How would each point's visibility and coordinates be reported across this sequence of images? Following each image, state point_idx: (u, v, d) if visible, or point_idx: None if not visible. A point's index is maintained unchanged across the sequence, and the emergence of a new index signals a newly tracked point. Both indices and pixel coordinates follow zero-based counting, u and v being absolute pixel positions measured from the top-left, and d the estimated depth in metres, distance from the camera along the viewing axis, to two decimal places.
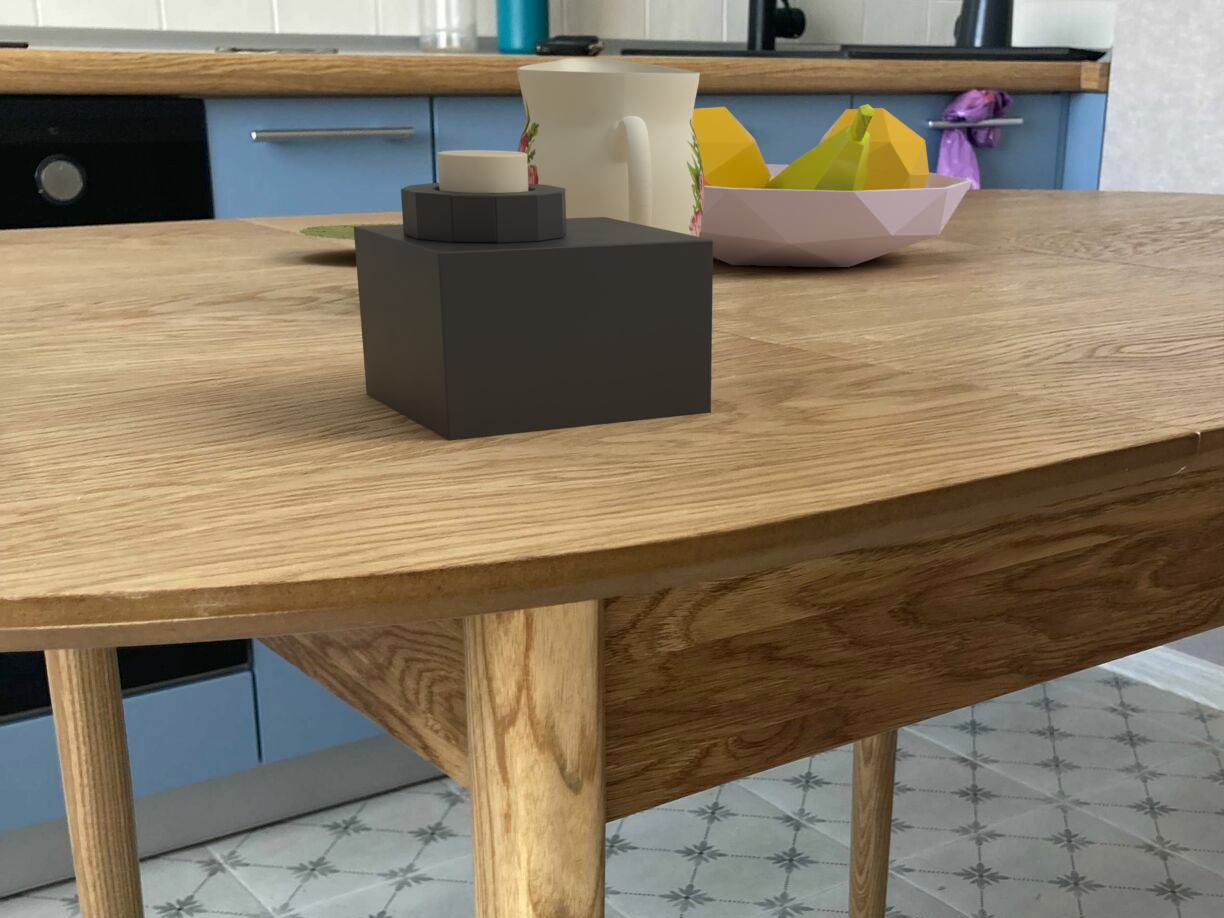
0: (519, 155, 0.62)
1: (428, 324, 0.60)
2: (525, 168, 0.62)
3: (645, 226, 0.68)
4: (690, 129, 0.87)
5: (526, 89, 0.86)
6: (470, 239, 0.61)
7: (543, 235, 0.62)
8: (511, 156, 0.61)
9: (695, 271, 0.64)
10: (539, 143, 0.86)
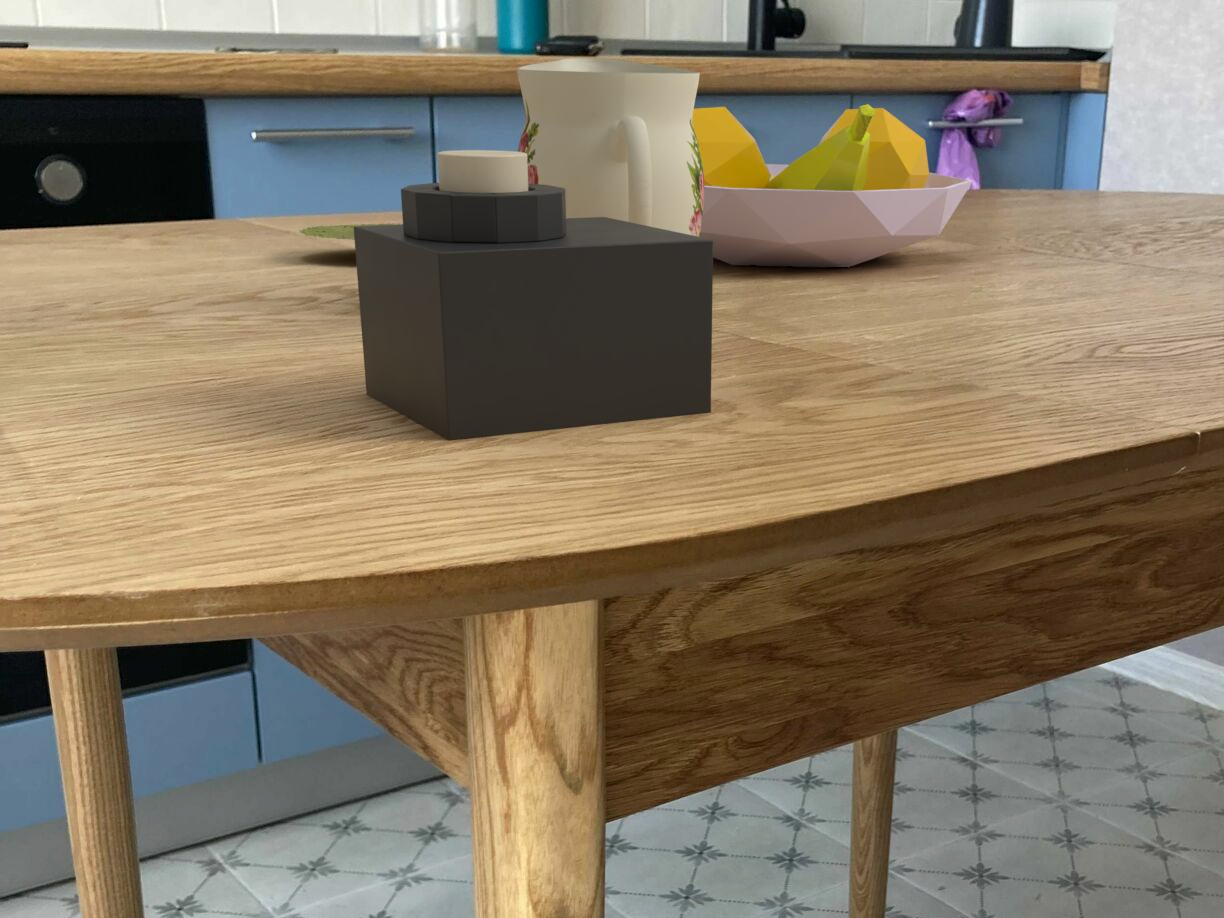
0: (519, 155, 0.62)
1: (428, 324, 0.60)
2: (525, 168, 0.62)
3: (645, 226, 0.68)
4: (690, 129, 0.87)
5: (526, 89, 0.86)
6: (470, 239, 0.61)
7: (543, 235, 0.62)
8: (511, 156, 0.61)
9: (695, 271, 0.64)
10: (539, 143, 0.86)
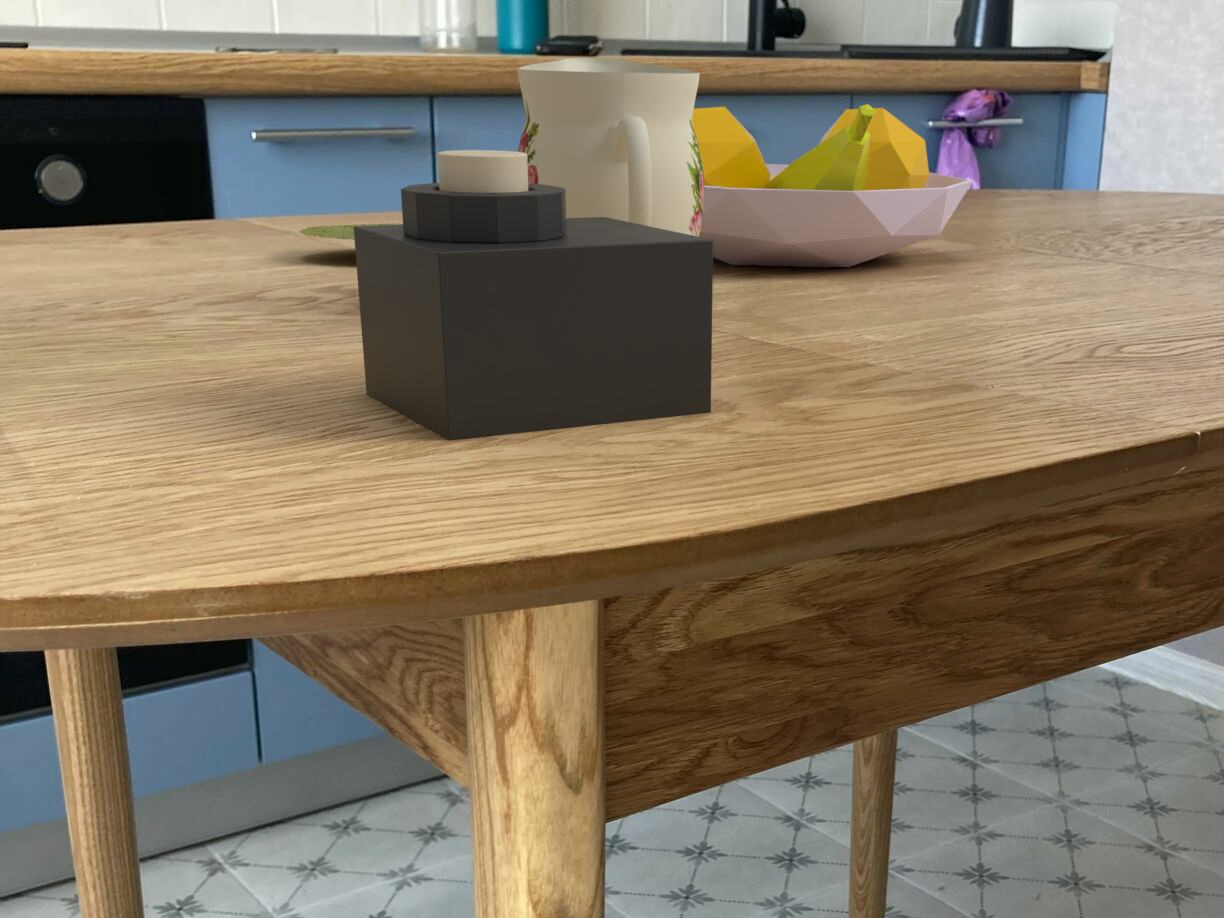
0: (519, 155, 0.62)
1: (428, 324, 0.60)
2: (525, 168, 0.62)
3: (645, 226, 0.68)
4: (690, 129, 0.87)
5: (526, 89, 0.86)
6: (470, 239, 0.61)
7: (543, 235, 0.62)
8: (511, 156, 0.61)
9: (695, 271, 0.64)
10: (539, 143, 0.86)
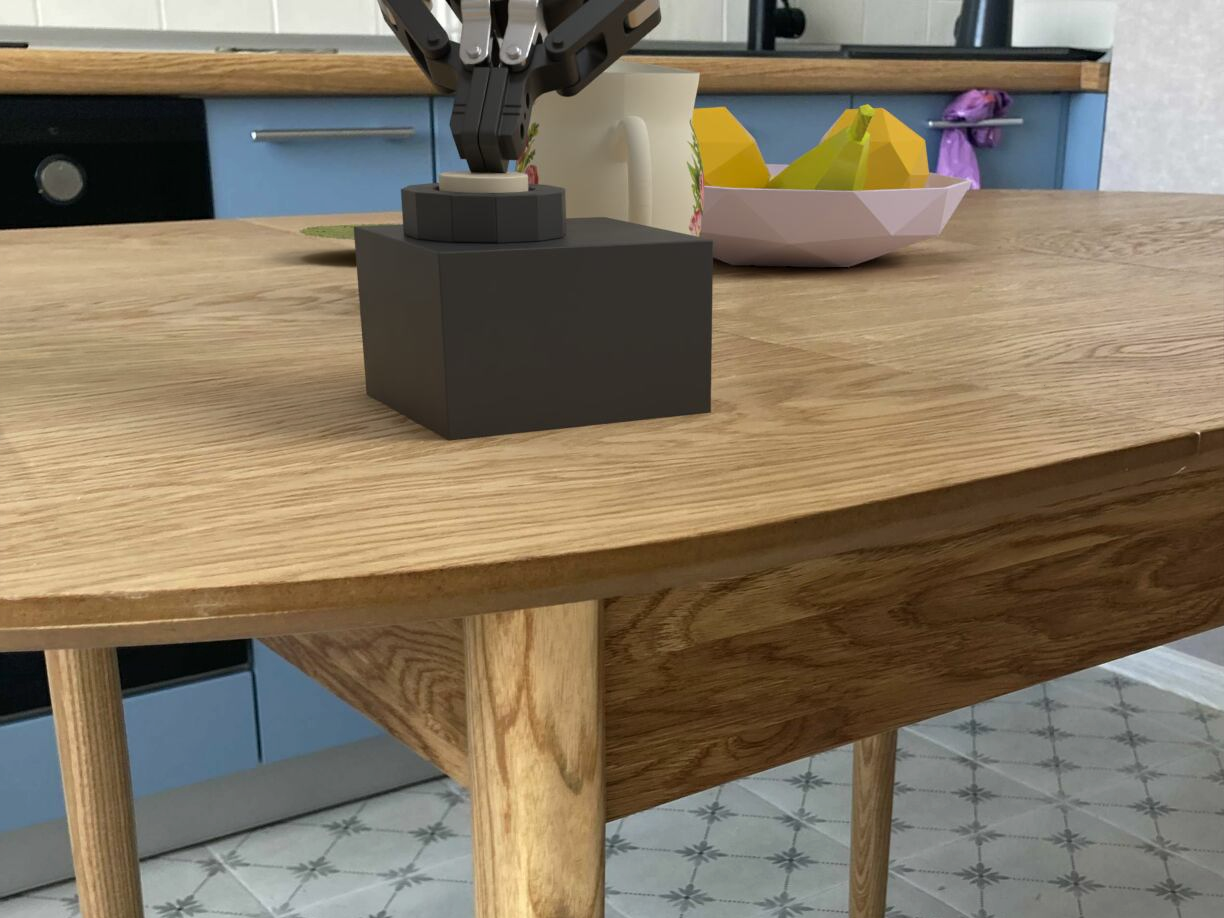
0: (520, 176, 0.62)
1: (428, 324, 0.60)
2: (526, 189, 0.63)
3: (645, 226, 0.68)
4: (690, 129, 0.87)
5: None
6: (470, 239, 0.61)
7: (543, 235, 0.62)
8: (512, 177, 0.62)
9: (695, 271, 0.64)
10: (539, 143, 0.86)
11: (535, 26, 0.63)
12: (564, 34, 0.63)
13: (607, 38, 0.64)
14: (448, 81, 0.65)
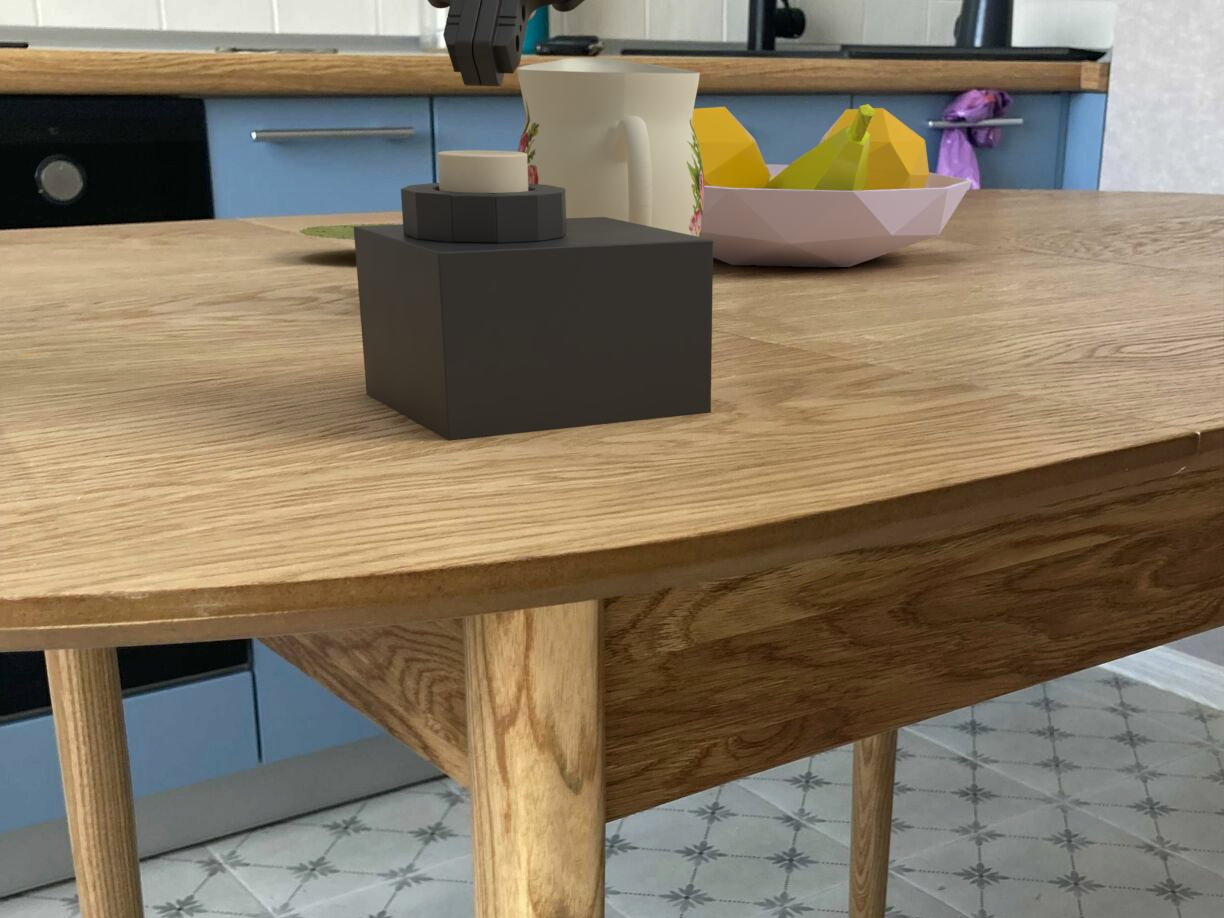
0: (519, 155, 0.62)
1: (428, 324, 0.60)
2: (525, 168, 0.62)
3: (645, 226, 0.68)
4: (690, 129, 0.87)
5: (526, 89, 0.86)
6: (470, 239, 0.61)
7: (543, 235, 0.62)
8: (511, 156, 0.61)
9: (695, 271, 0.64)
10: (539, 143, 0.86)
11: None
12: None
13: None
14: None
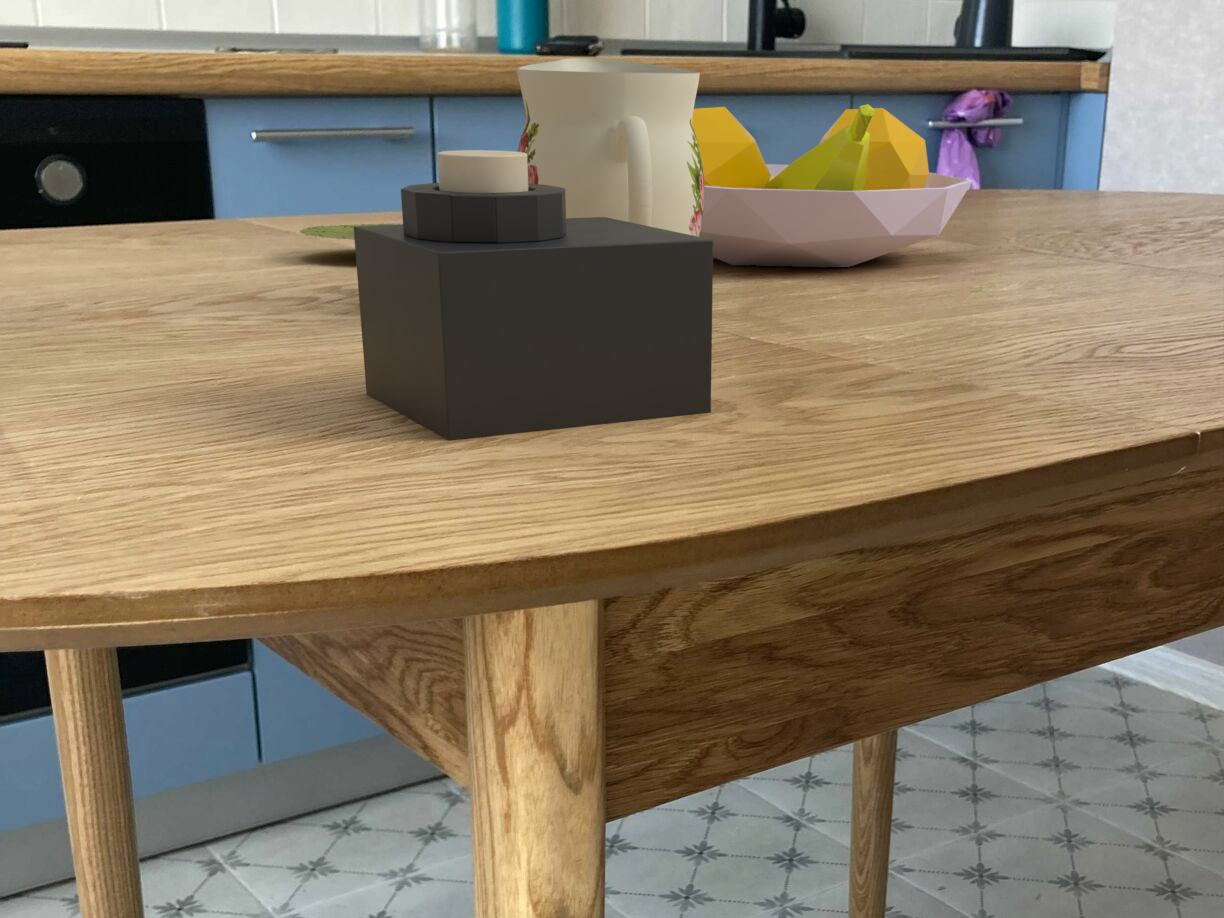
0: (519, 155, 0.62)
1: (428, 324, 0.60)
2: (525, 168, 0.62)
3: (645, 226, 0.68)
4: (690, 129, 0.87)
5: (526, 89, 0.86)
6: (470, 239, 0.61)
7: (543, 235, 0.62)
8: (511, 156, 0.61)
9: (695, 271, 0.64)
10: (539, 143, 0.86)
11: None
12: None
13: None
14: None
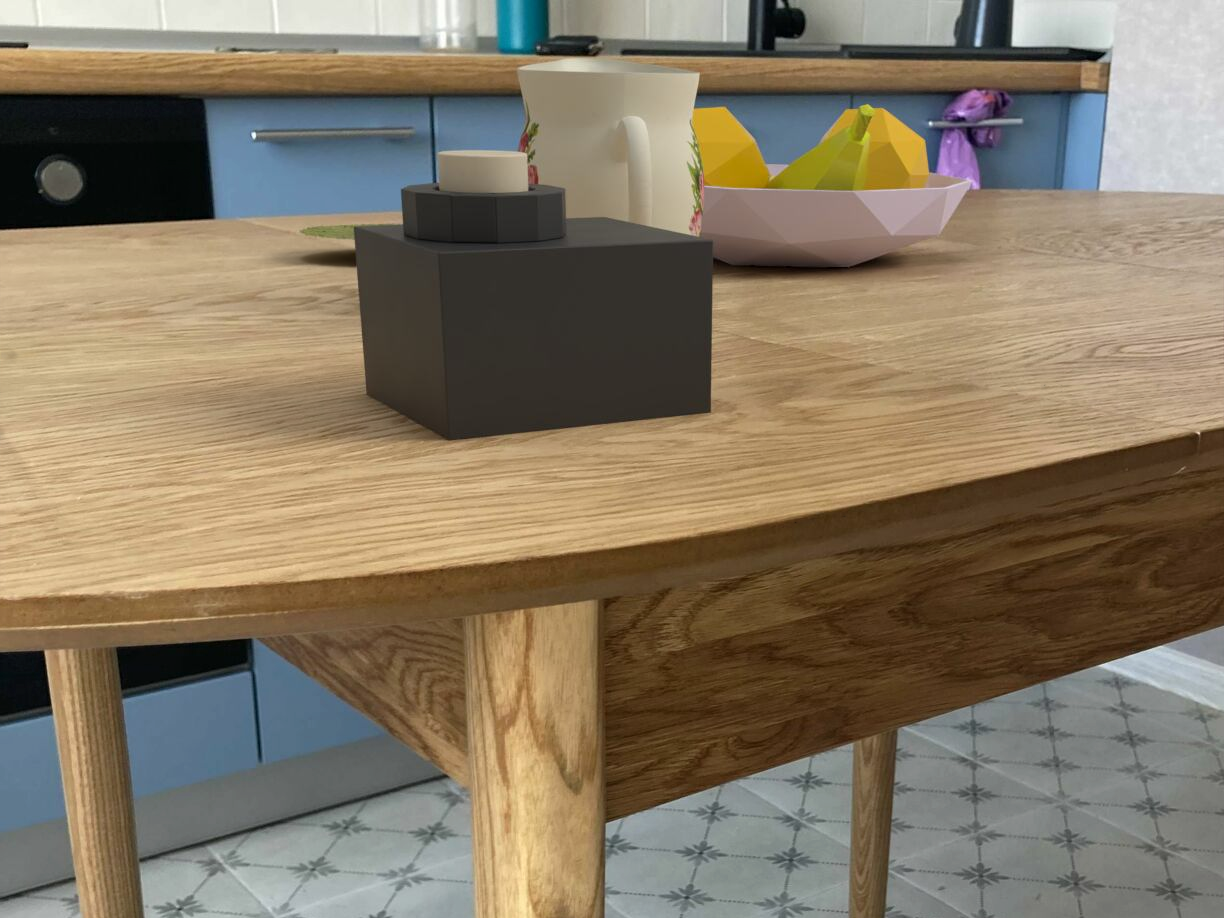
0: (519, 155, 0.62)
1: (428, 324, 0.60)
2: (525, 168, 0.62)
3: (645, 226, 0.68)
4: (690, 129, 0.87)
5: (526, 89, 0.86)
6: (470, 239, 0.61)
7: (543, 235, 0.62)
8: (511, 156, 0.61)
9: (695, 271, 0.64)
10: (539, 143, 0.86)
11: None
12: None
13: None
14: None
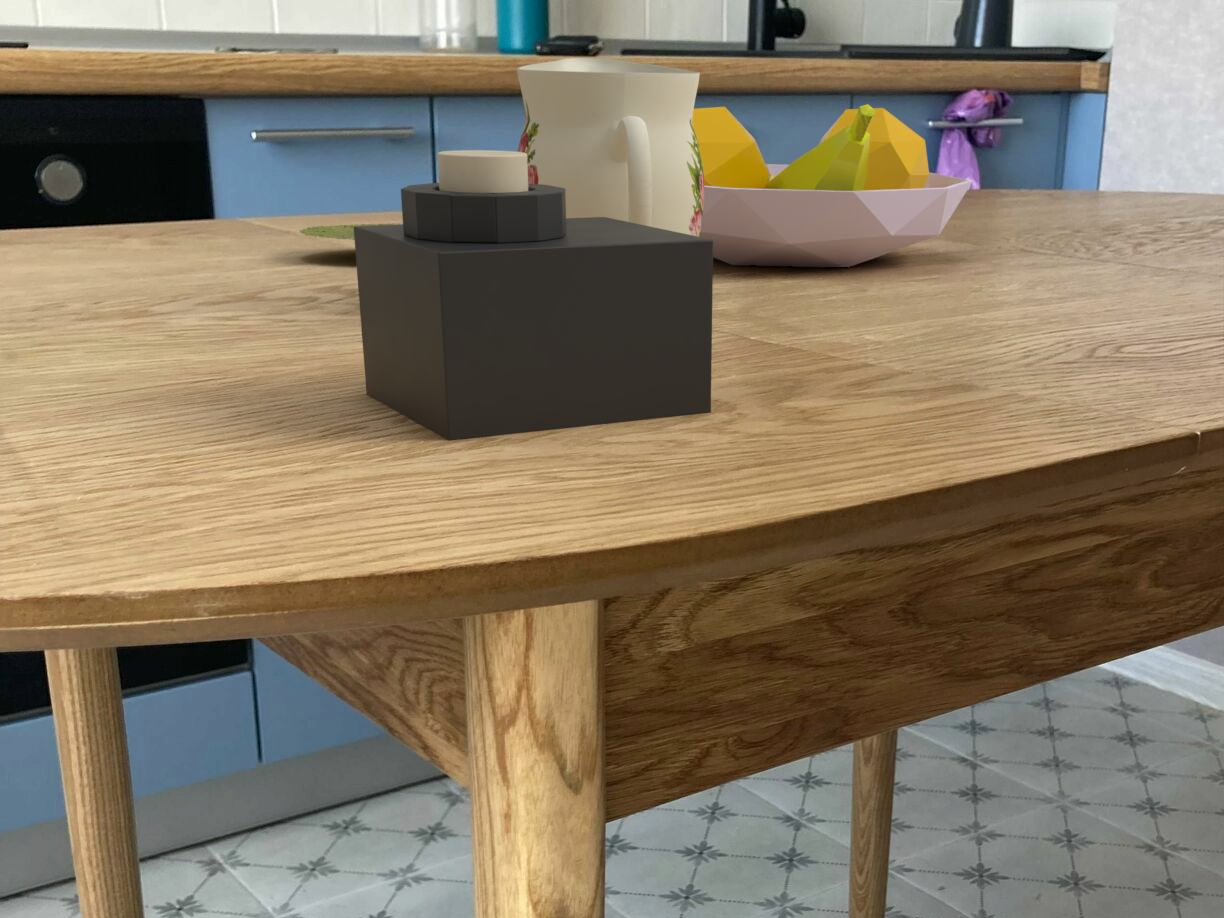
0: (519, 155, 0.62)
1: (428, 324, 0.60)
2: (525, 168, 0.62)
3: (645, 226, 0.68)
4: (690, 129, 0.87)
5: (526, 89, 0.86)
6: (470, 239, 0.61)
7: (543, 235, 0.62)
8: (511, 156, 0.61)
9: (695, 271, 0.64)
10: (539, 143, 0.86)
11: None
12: None
13: None
14: None
